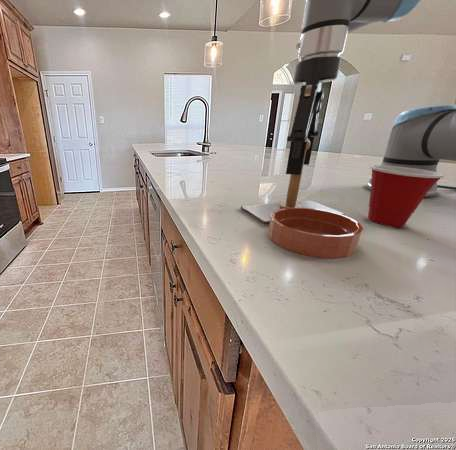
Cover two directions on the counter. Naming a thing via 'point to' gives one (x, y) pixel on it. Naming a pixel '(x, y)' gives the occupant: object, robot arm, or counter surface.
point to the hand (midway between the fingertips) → (298, 169)
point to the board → (266, 210)
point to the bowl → (315, 232)
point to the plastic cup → (398, 193)
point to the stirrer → (293, 188)
